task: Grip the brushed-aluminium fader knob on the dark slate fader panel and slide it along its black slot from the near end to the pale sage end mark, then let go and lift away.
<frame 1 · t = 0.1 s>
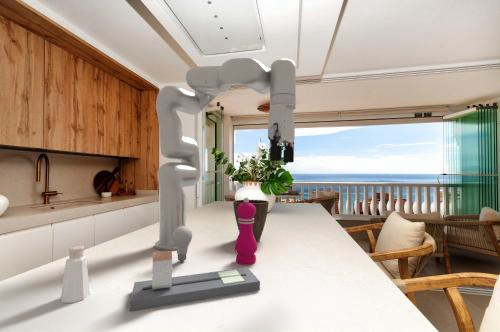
hand: (282, 161, 72), 31 cm above the kitchen island, tool pointing down, fingers open, 9 cm apart
plant pot: (250, 240, 103), on the kitchen island
fader panel: (197, 290, 58), on the kitchen island
lightbulb: (181, 262, 77), on the kitchen island
fader knob: (162, 269, 56), point 6 cm above the kitchen island, slide at -8.0 cm
pepper mill: (245, 261, 78), on the kitchen island
pepper shaker: (75, 298, 55), on the kitchen island
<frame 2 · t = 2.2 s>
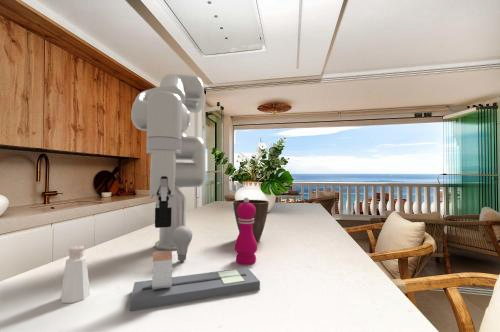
hand: (162, 223, 56), 16 cm above the kitchen island, tool pointing down, fingers open, 9 cm apart
nothing on the kitchen island moved.
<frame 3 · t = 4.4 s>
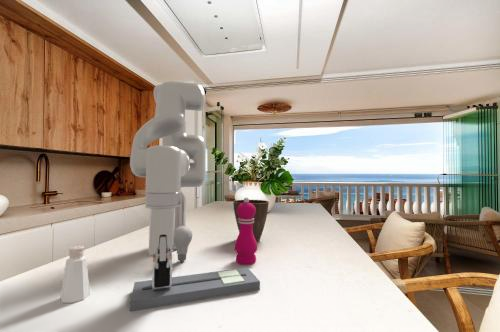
hand: (162, 280, 56), 3 cm above the kitchen island, tool pointing down, fingers closed on fader knob, 4 cm apart
fader knob: (162, 269, 56), point 6 cm above the kitchen island, slide at -8.0 cm, touching gripper
everything else where it was.
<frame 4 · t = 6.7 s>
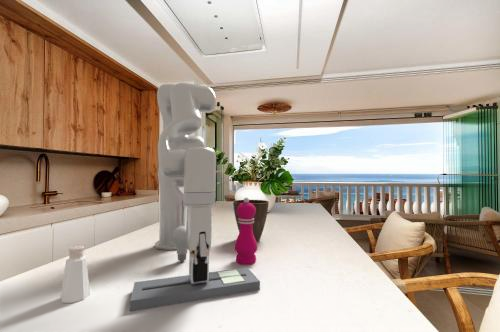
hand: (198, 275, 59), 3 cm above the kitchen island, tool pointing down, fingers closed on fader knob, 4 cm apart
fader knob: (198, 264, 59), point 6 cm above the kitchen island, slide at 0.2 cm, touching gripper
everything else where it was.
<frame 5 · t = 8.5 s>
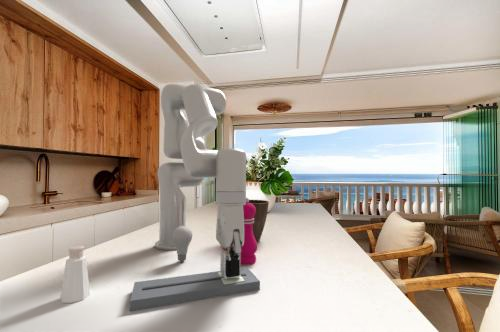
hand: (230, 271, 61), 3 cm above the kitchen island, tool pointing down, fingers closed on fader knob, 4 cm apart
fader knob: (230, 261, 61), point 6 cm above the kitchen island, slide at 7.9 cm, touching gripper
everything else where it was.
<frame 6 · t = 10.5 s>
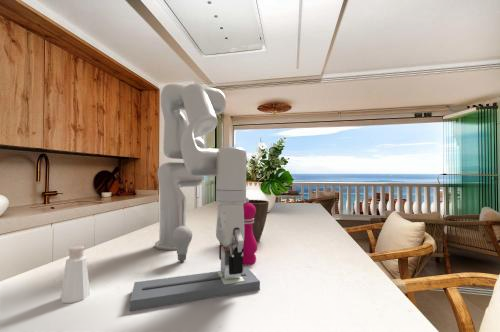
hand: (230, 265, 61), 5 cm above the kitchen island, tool pointing down, fingers open, 9 cm apart
fader knob: (230, 261, 61), point 6 cm above the kitchen island, slide at 8.0 cm
everything else where it was.
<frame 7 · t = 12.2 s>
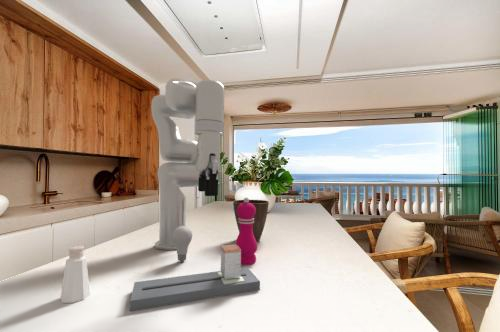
hand: (207, 193, 66), 22 cm above the kitchen island, tool pointing down, fingers open, 9 cm apart
nothing on the kitchen island moved.
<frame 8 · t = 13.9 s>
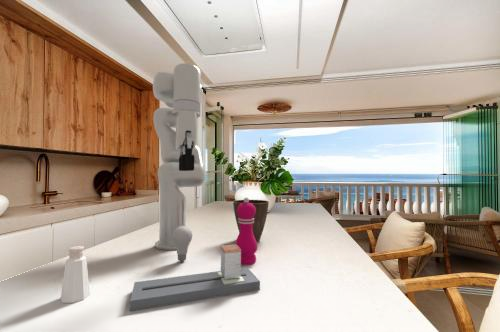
hand: (186, 170, 69), 28 cm above the kitchen island, tool pointing down, fingers open, 9 cm apart
nothing on the kitchen island moved.
at the end: fader knob slide at 8.0 cm; the gripper is holding nothing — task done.
